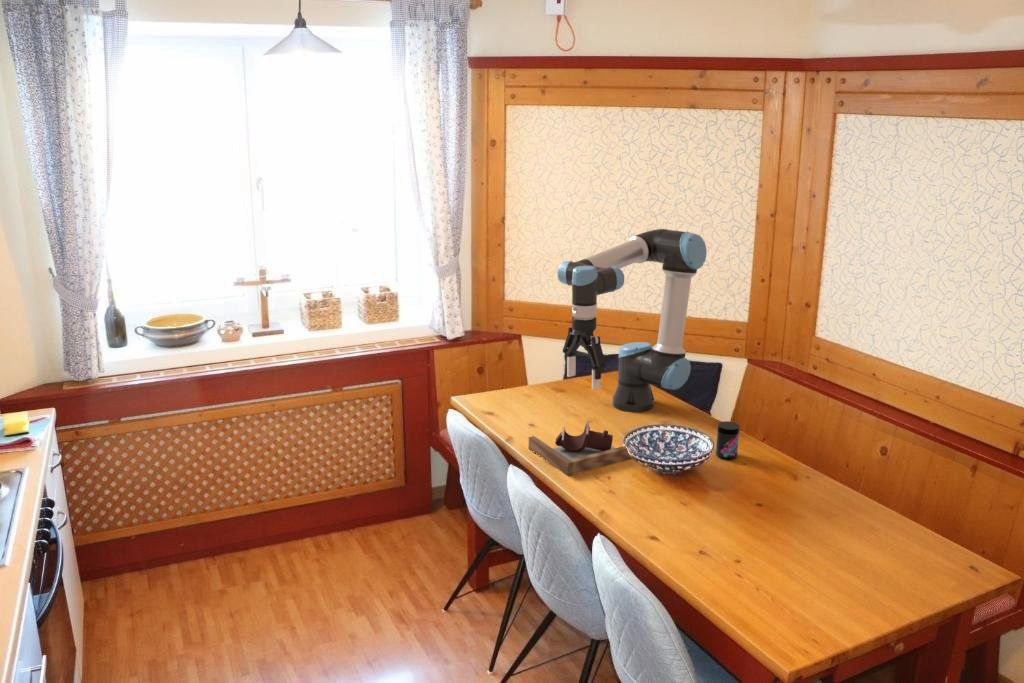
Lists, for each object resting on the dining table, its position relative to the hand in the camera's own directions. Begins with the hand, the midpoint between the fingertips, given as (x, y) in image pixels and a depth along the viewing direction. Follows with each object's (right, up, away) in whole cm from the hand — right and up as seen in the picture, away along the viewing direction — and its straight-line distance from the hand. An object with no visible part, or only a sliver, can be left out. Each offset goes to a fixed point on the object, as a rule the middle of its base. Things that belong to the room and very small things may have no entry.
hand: (583, 382), depth 271 cm
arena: (-1, -23, +3) cm, 23 cm away
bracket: (0, -22, +4) cm, 23 cm away
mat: (0, -22, +5) cm, 23 cm away
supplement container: (+45, -23, 0) cm, 51 cm away
